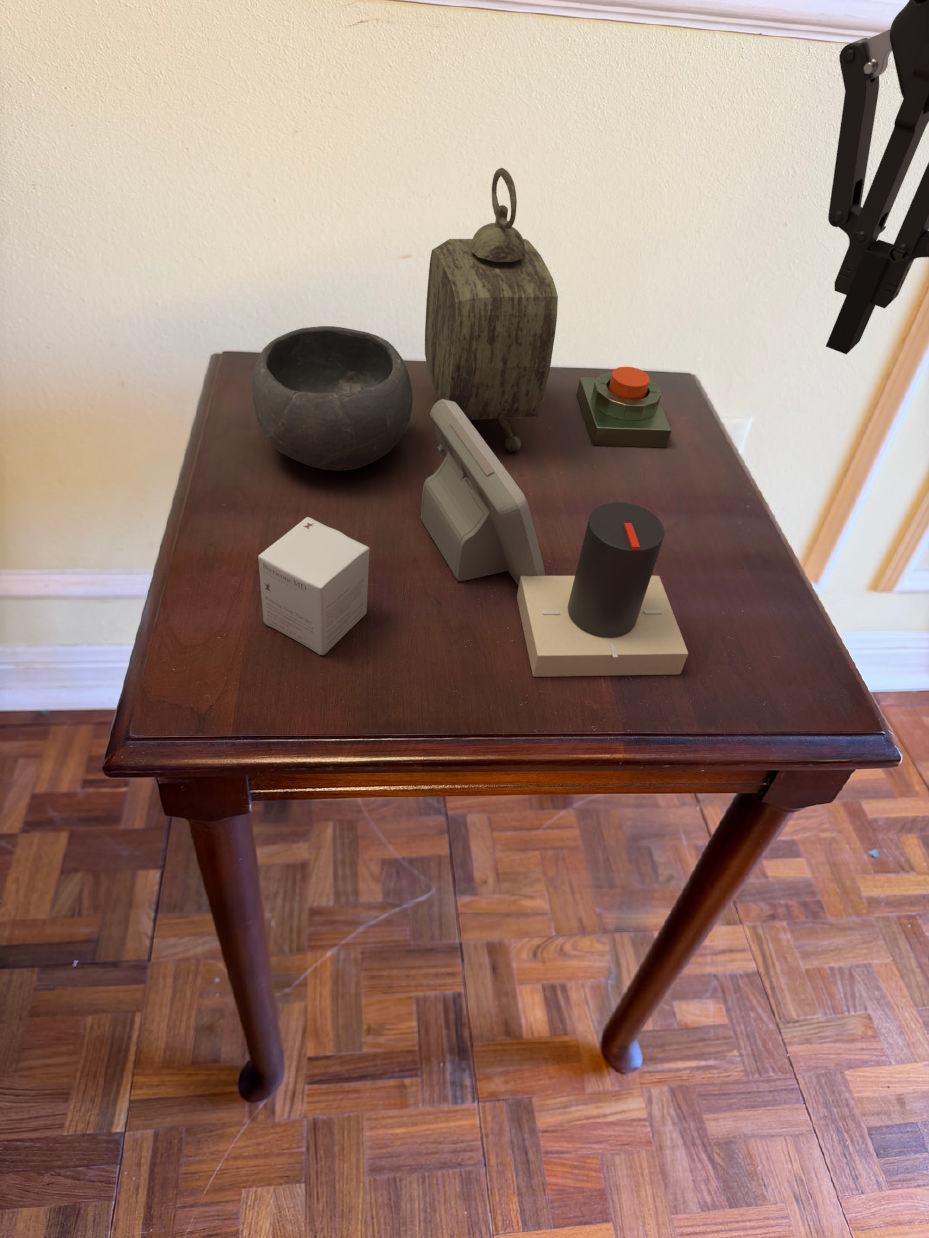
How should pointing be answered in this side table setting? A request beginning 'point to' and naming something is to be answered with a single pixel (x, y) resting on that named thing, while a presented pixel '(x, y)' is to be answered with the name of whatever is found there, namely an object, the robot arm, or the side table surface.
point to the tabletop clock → (491, 321)
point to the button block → (622, 415)
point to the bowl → (332, 396)
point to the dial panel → (582, 654)
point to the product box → (314, 584)
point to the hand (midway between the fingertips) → (843, 343)
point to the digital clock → (476, 505)
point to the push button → (629, 383)
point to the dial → (614, 568)
